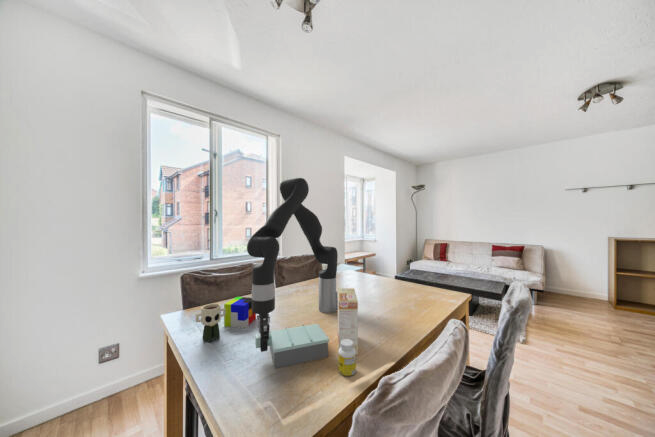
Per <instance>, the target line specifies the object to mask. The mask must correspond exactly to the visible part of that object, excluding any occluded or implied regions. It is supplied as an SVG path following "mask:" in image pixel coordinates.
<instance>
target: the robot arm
mask: <svg viewBox="0 0 655 437" xmlns="http://www.w3.org/2000/svg"><path fill="white" fill-rule="evenodd" d="M279 183H280V184H279V192H280V195H281V197H282V199H283V202H282V203H281V204H280V205H278V206H277V207H276V208H275V209H274V210H273V211H272V212H270V213H271V214H270V215H269V216H268V217H267V219H266V221H265V223H264V225H262V226H261V227H260V228H258V229H257V231H256V232H255V233H253V234H252V235H251V237H250V238H249V240H248V241H247V246H246V251H247V254H248V255H249V256H250V257H252V258H263V262H262V263H259V264H256V265H254V266H253V267H252V274H251V275H252V276H251V279H252V281H251V282H252V284H251V286H252V287H251V298H252V312H253V313H255V314H256V320H257V328H258V329H257V331H258V333H260V352H261V353H263V352H267V351H268V347H269V346H268V340H269V331H271V330H270V323H271V316H270V313H273V312H274V311H275V309H276V289H275V288H276V287H275V268H276V265H277V260H278V256H279V254H280V253H279V252H280V243H279V240H278V239H279V238H280V237H281V236H282V235H283V233H284V231H285V228H286V227H287V225H288V223H289V221H290V219H291V218H292V217H293V216H294V218H295V219H296V221H297V223H298V224H299V227H300V229H301V231H302V232H303V234H304V236H305V238H306V240H307V241H308V244H309V246H310V248H311V250H312V253H313V256H314V257H315V260H316V261H317V263H319V264H321V265H322V264H324V265H327V266H326V268H325V269H320V271H318V311H319V312H321V313H326V314H329V313H334V312H336V311H338V290H337V271H338V258H339V257H338V250H337V248H336V247H334V246H326V245H325V246H324V245H323V244H322V242H321V236H322V233H323V227H322V224H321V222H320V220H319V218H318V216H317V215H316V214H315V213H314V212H313V211H311V210H310V209H309V208H307V207H306V206H305V205H304V204H303V202H305V200H306V199H307V197H308V195H309V192H310V191H309V190H310V189H309V184H308V182H307V180H306V179H305V178H303V177H296V178H289V179H285V180H282V181H281V182H279Z"/></svg>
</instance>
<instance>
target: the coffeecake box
mask: <svg viewBox="0 0 655 437" xmlns="http://www.w3.org/2000/svg"><path fill="white" fill-rule="evenodd" d="M337 292H338V310H337V346H338V348H337V349H338V351H339V349H340V347H341V341H342V340H343V339H350V340H352V341H353V348H354V349H355V351H356V355H358V354H359V329H358V328H359V319H358V318H359V314H358V313H359V310H358V308H359V301H358V297H357V293H356V290H355V288H353V287H352V288H350V287H349V288H347V287H346V288H345V287H339V288H337Z"/></svg>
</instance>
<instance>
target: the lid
mask: <svg viewBox="0 0 655 437" xmlns="http://www.w3.org/2000/svg"><path fill="white" fill-rule="evenodd" d="M254 336H255V339H254V340H255V342H254V343H255V349H259V348H260V333H259V332H257V333H255V335H254ZM327 342H328V343H329V342H330V338H329V337H328V336H327V334H326V333H325V331H324V330H323V329H322V327H321V326H320V325H319V323H313V324H306V325H304V324H301V326H296V327H289V328H288V327H285V328H284V329H283V328H282V329H277V330H269V340H268V347H270V346H272V349H273V353H276V352H281V351H286V350H291V349H296V348H301V347H306V346H311V345H317V344H322V343H327Z"/></svg>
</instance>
